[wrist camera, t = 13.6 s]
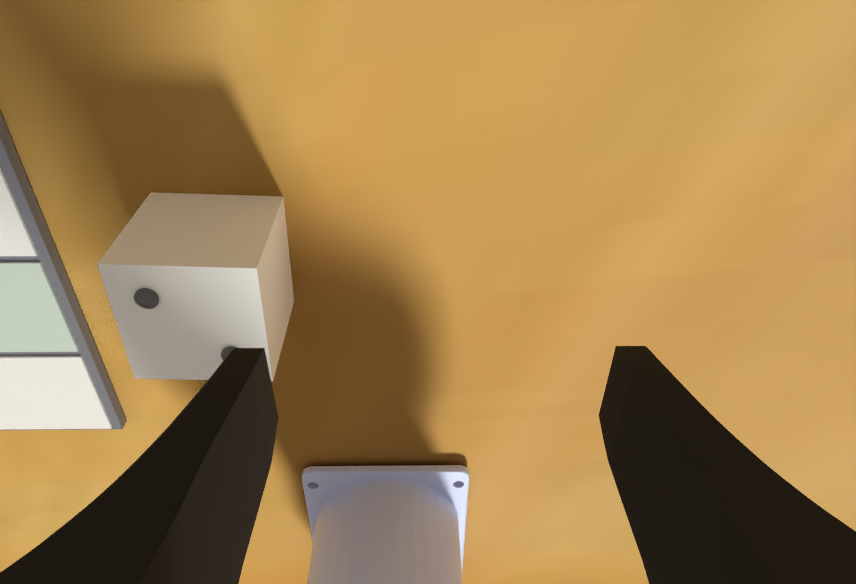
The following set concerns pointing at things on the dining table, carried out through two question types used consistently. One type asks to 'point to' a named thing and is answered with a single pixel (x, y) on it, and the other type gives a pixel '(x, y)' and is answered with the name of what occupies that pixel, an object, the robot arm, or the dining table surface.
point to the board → (43, 323)
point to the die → (200, 282)
